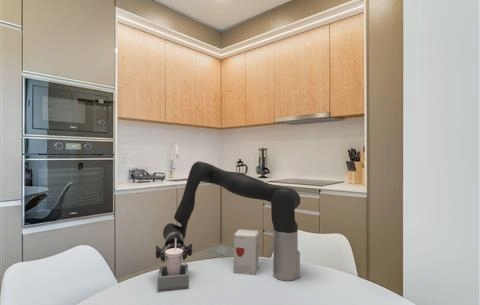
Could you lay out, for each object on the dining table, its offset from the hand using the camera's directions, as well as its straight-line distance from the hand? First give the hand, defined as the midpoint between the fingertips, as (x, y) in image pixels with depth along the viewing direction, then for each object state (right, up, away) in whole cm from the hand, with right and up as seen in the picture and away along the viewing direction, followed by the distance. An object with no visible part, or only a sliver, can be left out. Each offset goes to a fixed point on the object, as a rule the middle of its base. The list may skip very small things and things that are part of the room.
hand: (173, 258), depth 90 cm
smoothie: (-1, -8, +2) cm, 9 cm away
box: (-1, -10, +2) cm, 10 cm away
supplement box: (+26, -11, +15) cm, 31 cm away
